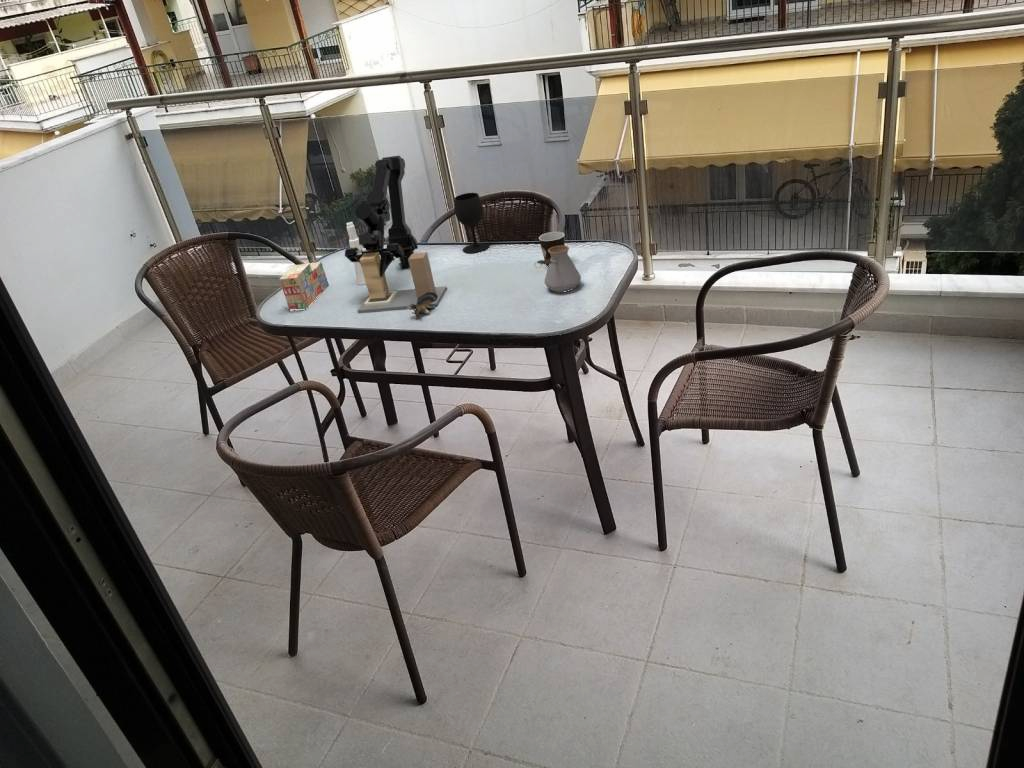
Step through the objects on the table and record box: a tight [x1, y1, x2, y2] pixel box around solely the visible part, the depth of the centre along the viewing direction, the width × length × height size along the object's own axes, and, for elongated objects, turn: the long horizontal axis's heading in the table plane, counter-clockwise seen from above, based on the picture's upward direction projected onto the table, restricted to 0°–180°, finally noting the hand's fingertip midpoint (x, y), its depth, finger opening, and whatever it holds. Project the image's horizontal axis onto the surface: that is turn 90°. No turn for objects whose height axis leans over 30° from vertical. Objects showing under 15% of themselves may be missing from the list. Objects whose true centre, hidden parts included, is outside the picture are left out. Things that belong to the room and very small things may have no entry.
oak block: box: [359, 252, 390, 299], centre depth 249 cm, size 5×5×14 cm
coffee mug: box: [538, 231, 566, 267], centre depth 258 cm, size 12×9×10 cm
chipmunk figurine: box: [407, 292, 438, 320], centre depth 239 cm, size 8×7×9 cm
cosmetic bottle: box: [346, 221, 367, 286], centre depth 269 cm, size 6×6×22 cm
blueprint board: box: [356, 251, 448, 314], centre depth 249 cm, size 14×27×15 cm, turn 81°
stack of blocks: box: [279, 261, 330, 310], centre depth 266 cm, size 21×6×12 cm, turn 171°
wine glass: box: [453, 192, 491, 255], centre depth 281 cm, size 10×10×20 cm
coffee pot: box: [534, 245, 582, 293], centre depth 233 cm, size 21×12×15 cm, turn 154°
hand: (373, 277), depth 248 cm, fingers closed on oak block, 5 cm apart
